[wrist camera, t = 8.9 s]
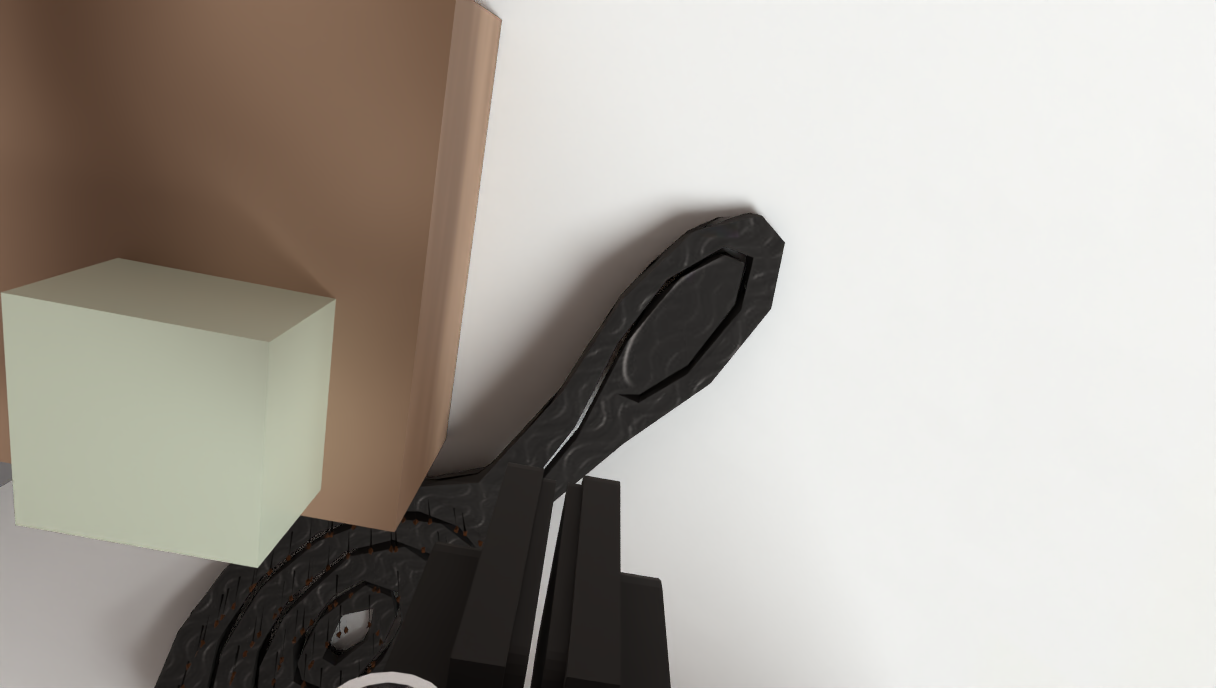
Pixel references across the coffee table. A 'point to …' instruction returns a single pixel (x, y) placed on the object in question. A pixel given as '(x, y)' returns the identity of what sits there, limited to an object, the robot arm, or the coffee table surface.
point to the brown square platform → (267, 184)
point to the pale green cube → (166, 407)
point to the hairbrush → (485, 474)
